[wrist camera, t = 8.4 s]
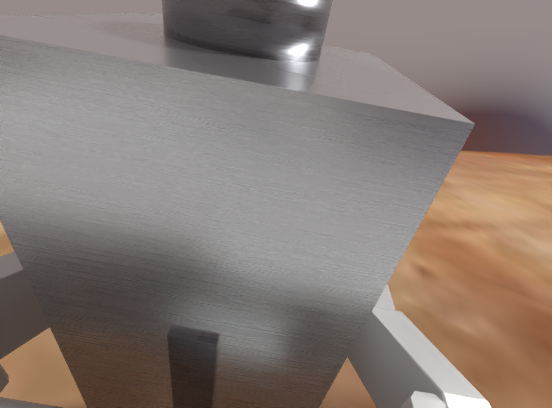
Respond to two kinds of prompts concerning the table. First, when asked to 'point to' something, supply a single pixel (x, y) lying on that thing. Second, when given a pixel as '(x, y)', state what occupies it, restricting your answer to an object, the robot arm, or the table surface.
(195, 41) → the aluminium block
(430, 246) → the table surface
